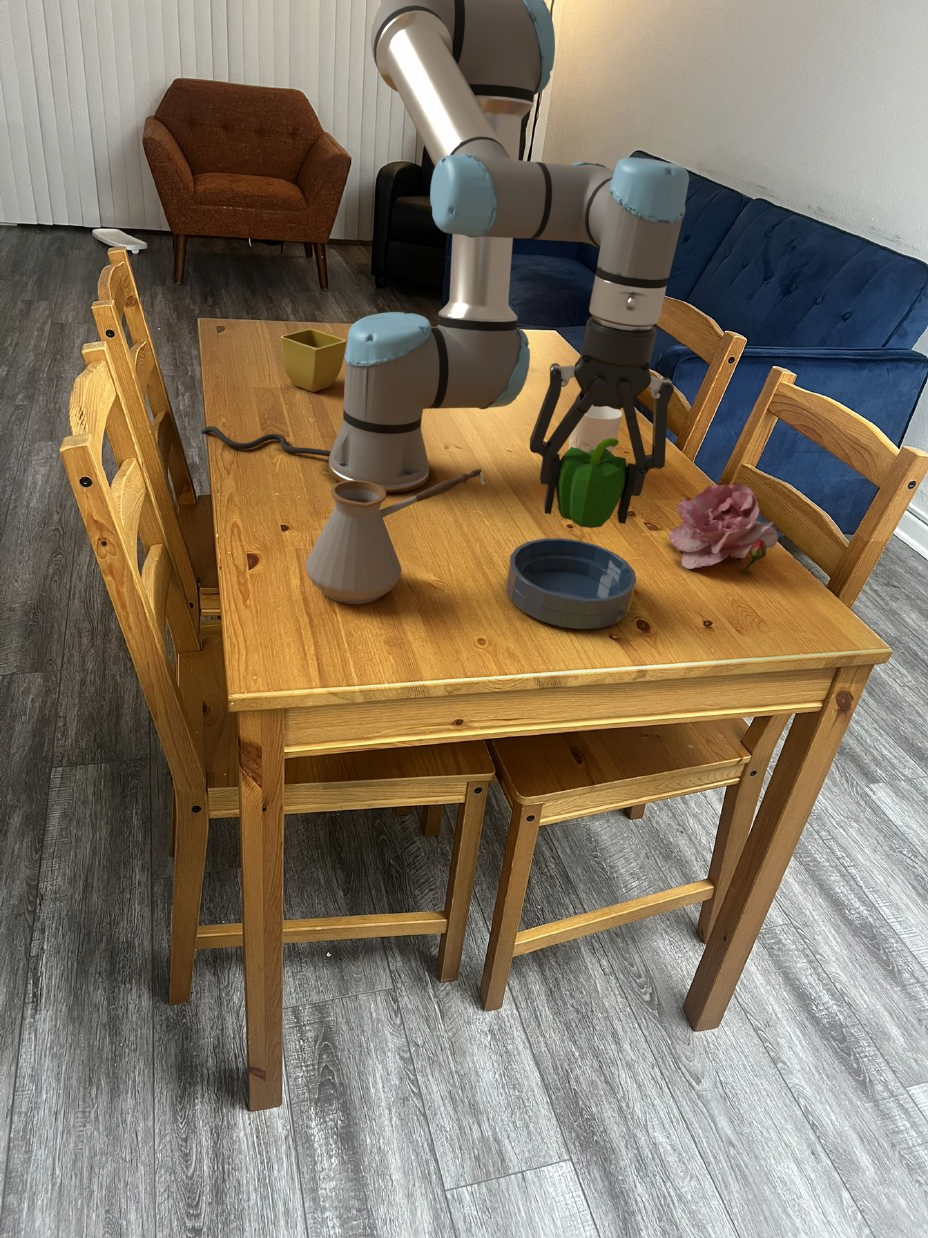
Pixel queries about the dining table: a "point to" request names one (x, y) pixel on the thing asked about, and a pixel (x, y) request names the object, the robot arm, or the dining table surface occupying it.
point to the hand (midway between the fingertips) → (584, 513)
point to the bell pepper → (590, 484)
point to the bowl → (570, 583)
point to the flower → (721, 527)
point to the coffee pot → (362, 541)
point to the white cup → (596, 428)
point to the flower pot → (312, 358)
